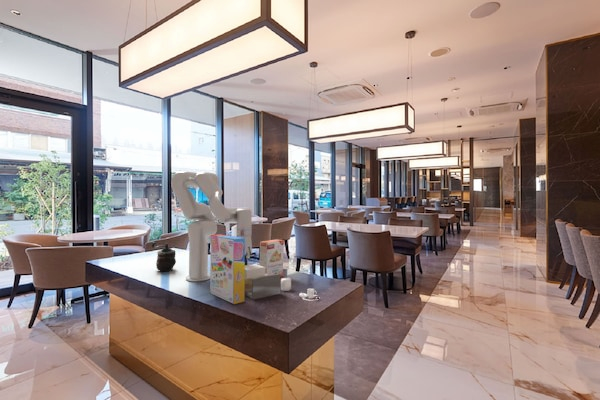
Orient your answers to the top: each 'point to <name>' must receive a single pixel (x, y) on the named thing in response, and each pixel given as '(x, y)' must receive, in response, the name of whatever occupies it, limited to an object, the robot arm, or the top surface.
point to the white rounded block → (285, 284)
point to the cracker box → (272, 256)
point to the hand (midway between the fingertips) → (243, 268)
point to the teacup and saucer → (310, 294)
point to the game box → (227, 268)
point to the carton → (254, 271)
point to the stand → (262, 286)
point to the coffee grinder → (165, 258)
